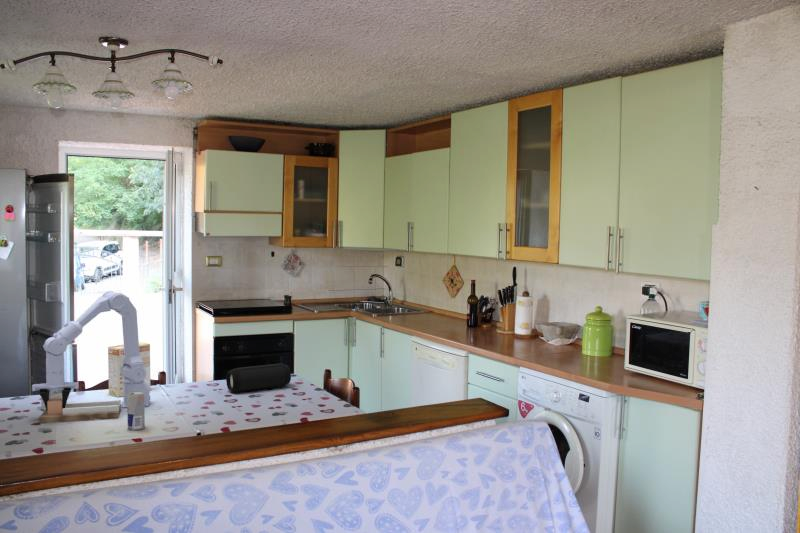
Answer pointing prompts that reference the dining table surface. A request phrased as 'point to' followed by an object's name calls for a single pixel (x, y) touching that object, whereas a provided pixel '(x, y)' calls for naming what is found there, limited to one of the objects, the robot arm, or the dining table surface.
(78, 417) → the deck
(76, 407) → the rails
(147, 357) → the coffeecake box
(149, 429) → the dining table surface
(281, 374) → the portable speaker
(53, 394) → the medicine box
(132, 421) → the energy drink
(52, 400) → the block
